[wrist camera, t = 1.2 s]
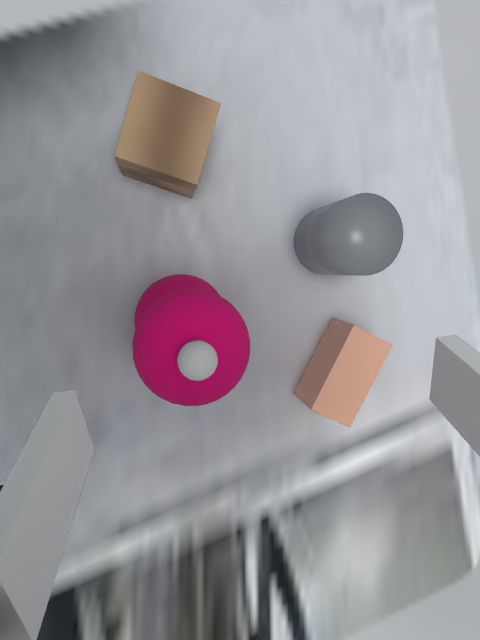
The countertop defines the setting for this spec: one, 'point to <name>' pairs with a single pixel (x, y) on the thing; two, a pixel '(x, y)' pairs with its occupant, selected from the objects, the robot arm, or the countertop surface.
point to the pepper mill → (189, 341)
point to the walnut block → (165, 135)
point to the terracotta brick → (341, 371)
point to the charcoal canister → (350, 236)
